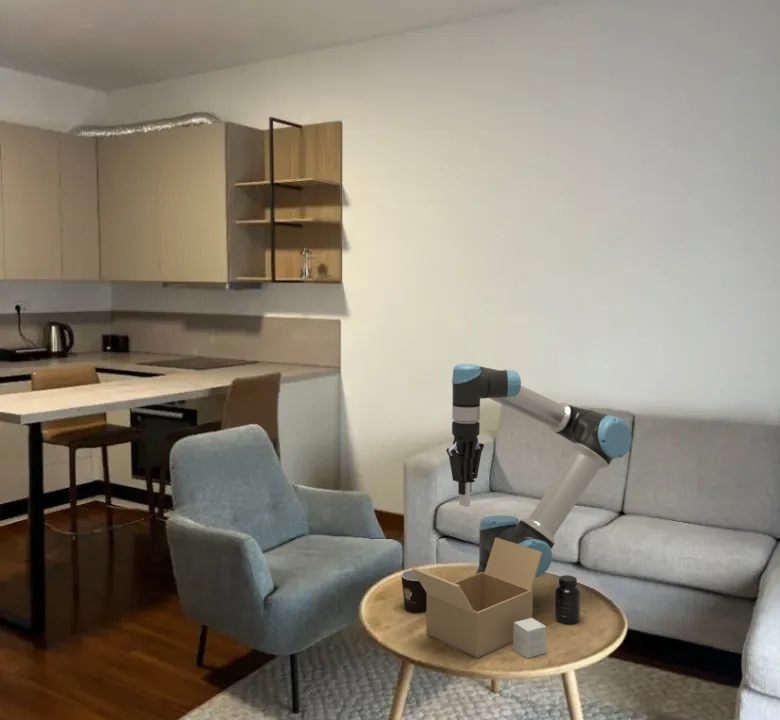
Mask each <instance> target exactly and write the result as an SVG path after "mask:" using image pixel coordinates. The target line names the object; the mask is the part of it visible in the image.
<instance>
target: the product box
mask: <svg viewBox="0 0 780 720" xmlns="http://www.w3.org/2000/svg"><path fill="white" fill-rule="evenodd" d="M512 648H513V650H514V651H515V652H517V653H519V654H520V655H521V656H523V657H525V658H526V659H530V658H534V657H537V656H540V655H544V654H546V653H547V625H545V624H543V623H541V622H540V621H538V620H536V619H535V618H533V617H532V618H529V619H525V620H521V621H517V622H514V631H513V643H512Z"/></svg>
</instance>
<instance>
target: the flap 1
mask: <svg viewBox="0 0 780 720" xmlns="http://www.w3.org/2000/svg"><path fill="white" fill-rule="evenodd" d="M411 570H413V572H414V573H415V575H416V577H417V578H418V580H419V581H420V583H421V585H422V586H423V588H424V590H425V591H426V593H427V594H428V595H429V596H432V597H434V598H436V599H439V600H441V601H444V602H446V603H448V604H451V605H453V606H456V607H458V608H460V609H463V610H465V611H467V612H470V613H472V614H474V613H475V611H474V610H473V608H472V606H471V605H470V603H469V601H468V599H467V598H466V596H465V594H464V592H463V591H462V589H461V587H460V586H459V585H458V584H455V583H453V582H454V581H453V582H452V581H450V580H447V579H444V578H442V577H440V576H437V575H435V574H432V573H431V572H429V573H427V572H428V571H427V572H425V571H426V570H424V571H422V570H423V569H419V568H416V567H414V566H413V567H412V568H411Z"/></svg>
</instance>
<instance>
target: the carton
mask: <svg viewBox="0 0 780 720" xmlns="http://www.w3.org/2000/svg"><path fill="white" fill-rule="evenodd" d="M453 583H455V584H458V585H459V586H460V587H461V589H462V591H463V592H464V594H465V596H466V598H467V599H468V601H469V603H470V605H471V606H472V608H473V610H474V611H475V613H474V614H472V613H470V612H467V611H465V610H463V609H460V608H458V607H456V606H453V605H451V604H448V603H446V602H444V601H441V600H439V599H436V598H434V597H432V596H429V595H428V594H427V610H426V617H425V618H426V623H425V624H426V627H425V628H426V629H425V630H426V631H425V632H426V633H425V634H426V636H427V637H429V638H431V639H432V640H435V641H437V642H439V643H441V644H444V645H445V646H447V647H450V648H452V649H453V650H455V651H458V652H460V653H462V654H464V655H466V656H469V657H471V658H473V659H475V660H479V659H481V658H484V657H485V656H487V655H490V654H492V653H493V652H497V651H498V650H500V649H503V648H505V647H506V646H508V645H510V644H513V631H514V622H517V621H521V620H525V619H529V618H533V605H534V604H533V603H534V602H533V600H534V598H533V597H534V594H533V593H534V591H533V589H532V590H530V589H527V588H525V587H522V586H519V585H516V584H514V583H511V582H508V581H506V580H503V579H500V578H497V577H495V576H492V575H489V574H486V573H484V572H480V573H478V574H476V573H475V574H473V575H470V576H467V577H464V578H462V579H459V580H456V581H453Z"/></svg>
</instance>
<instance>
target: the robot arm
mask: <svg viewBox="0 0 780 720" xmlns="http://www.w3.org/2000/svg"><path fill="white" fill-rule="evenodd" d="M451 383H452V402H451V403H452V404H451V405H452V409H451V410H452V413H451V415H452V417H451V418H452V422H451V435H453V438H454V439H453V441H452V445H451V447H447V448H446V450H445V451H446V454H447V455H448V460H449V463H450V464H449V465H450V470H451V471H450V472H451V476H452V481H454V482H457V483H458V489H457V490H458V495H459V496H458V497H459V498H458V501H459V502H458V505H459V506H463V507H467V508H468V507H471V493H472V483H475V481H476V479H477V478H478V476H479V469H480V468H479V467H480V461H481V456H482V452H483V449H484V447H485V445H484V443H481V442H479V439H478V436H479V435H480V427H481V426H480V425H481V424H480V420H481V399H483V400H484V399H490V400H492V401H494V402H496V403H498V404H501V405H503V406H505V407H506V408H507V407H508V408H509V409H512V410H513V411H516V412H518V413H520V414H523V415H524V416H526V417H529V418H531V419H533V420H535V421H537V422H539V423H541V424H543V425H545V426H548V427H549V430H550V431H551V432H553V433H555V434H557V435H560V436H561V437H563V438H565V439H566V440H567V441H569V442H571V443H573V450H574V452H573V453H572V455H571V456H570V458H569V459H568V460H567V462H566V463H565V465H564V466H563V468H562V469H561V471H560V472H559V473H558V475H557V476H556V478H555V479H554V481H553V482H552V484H551V485H550V487H549V488H548V489H547V490H546V492H545V494H544V495H543V496H542V498H541V499H540V501H539V502H538V504H537V505H536V507H535V508H534V510H533V511H532V512H531V513H530V515H529V517H526V518H521V519H520V520H519V518H518V517H516V516H512V515H503V514H502V515H489V516H485V517H483V518H482V519H481V520H480V523H479V529H478V531H479V537H478V539H479V540H478V541H479V543H478V545H479V548H478V549H479V550H478V551H479V552H478V553H479V554H478V556H479V557H478V564H479V565H478V568H477V571H476V573H475V574H478V573H480V572H485V569H486V566H487V563H488V560H489V556H490V553H491V550H492V547H493V543H494V540H495V537H496V538H500V539H503V540H506V541H509V542H512V543H515V544H519V545H522V546H525V547H528V548H531V549H534V550H538V551H541V552H543V553H542V556H541V559H540V563H539V566H538V570H537V573H536V576H535V579H536V578H538V577H541V576H542V575H544V574H545V573H546V571H548V569H549V568H550V566H551V564H552V561H553V558H552V557H553V552H552V549H553V548H554V546H555V544H556V543H555V538H554V537H555V534H556V533H557V532H558V531H559V529H560V528H561V526H562V524H563V523H564V521H565V520H566V518H567V517H568V516H569V514H570V512H571V511H572V509H574V507H575V506H576V504H577V502H578V501H579V499H580V498H581V497H582V495H583V494H584V492H585V491H586V489H587V488H588V487H589V485H590V483H591V482H592V481H593V479H594V478H595V476H597V473H598V471H599V470H600V469H604V468H608V467H609V465H610V464H611V463H612V462H613V460H615V459H619V458H622V457H624V456H625V455H626V454H627V453H628V452H629V451H630V448H631V447H632V442H633V440H632V439H633V438H632V431H631V428H630V426H629V425H628V423H627V422H626V421H625V420H623V419H622V418H621V417H620V418H619V417H617V416H616V415H613V414H612V415H611V414H606V413H602V412H598V411H595V410H591V409H586V408H581V407H577V406H573V405H571V404H568V403H566V402H561V403H559V402H556V401H554V400H552V399H550V398H549V397H547V396H544V395H542V394H541V393H537V392H536V391H534V390H531V389H530V388H527V387H525V386H523V385H522V380H521V377H520V374H519V373H518V371H516V370H514V369H513V370H511V369H505V370H499V369H495V368H490V367H485V366H482V365H479V364H476V363H474V364H473V363H469V364H467V363H465V364H464V363H462V364H460V363H458V364H456V365H455V366H453V371H452V380H451Z"/></svg>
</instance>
